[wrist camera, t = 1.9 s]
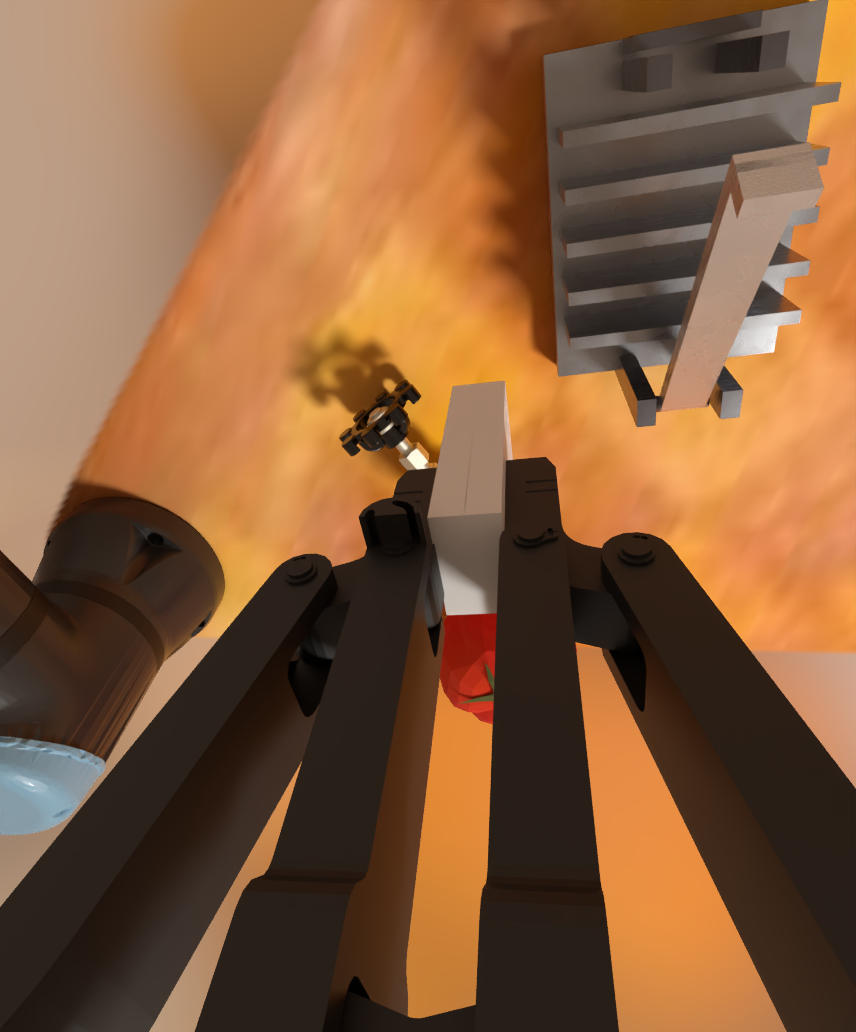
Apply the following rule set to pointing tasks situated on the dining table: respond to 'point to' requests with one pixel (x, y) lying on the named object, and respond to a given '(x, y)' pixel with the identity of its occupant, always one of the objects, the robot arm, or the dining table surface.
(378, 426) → the valve
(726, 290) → the grey long bar
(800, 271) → the heatsink
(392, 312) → the dining table surface
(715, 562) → the dining table surface
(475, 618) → the tomato
